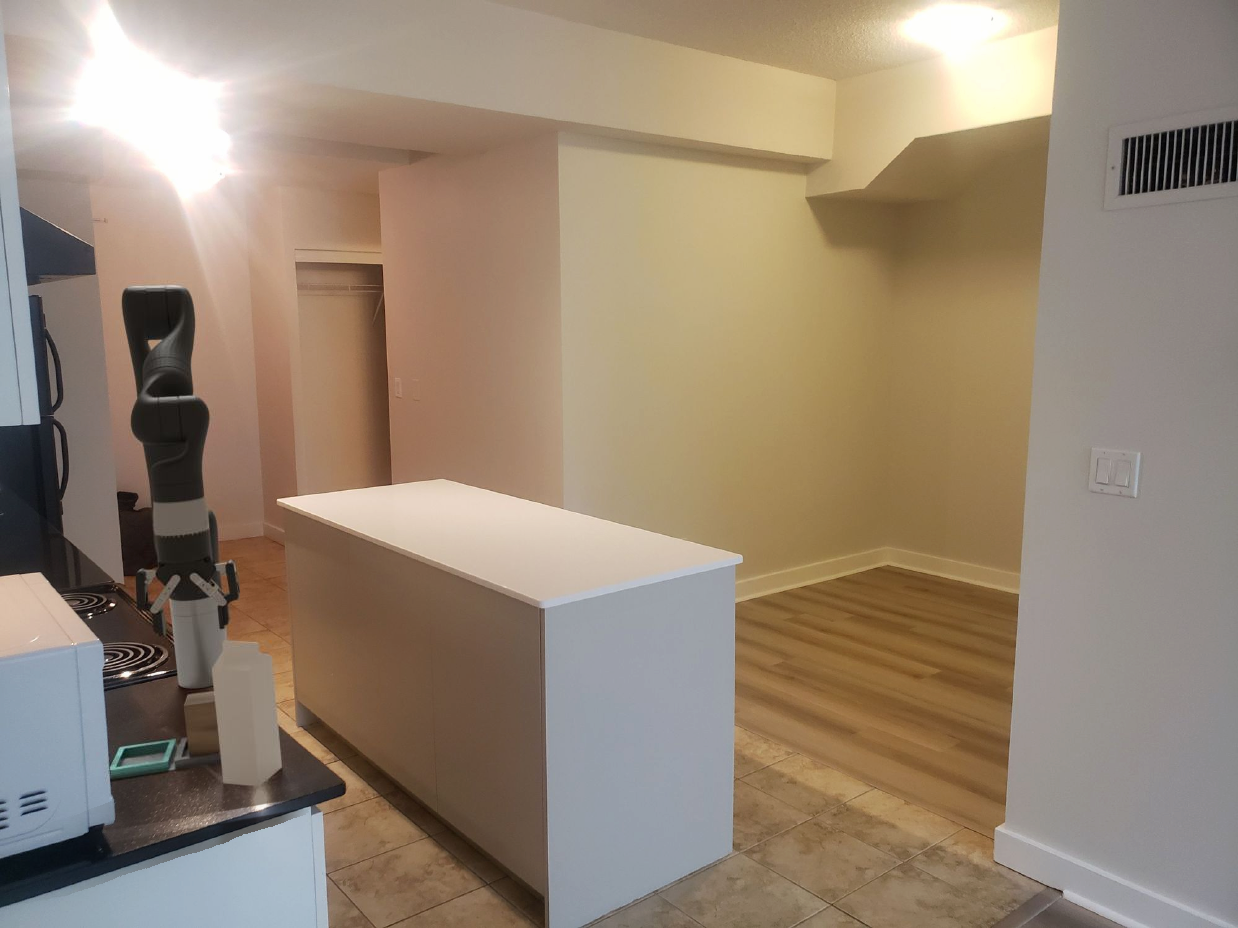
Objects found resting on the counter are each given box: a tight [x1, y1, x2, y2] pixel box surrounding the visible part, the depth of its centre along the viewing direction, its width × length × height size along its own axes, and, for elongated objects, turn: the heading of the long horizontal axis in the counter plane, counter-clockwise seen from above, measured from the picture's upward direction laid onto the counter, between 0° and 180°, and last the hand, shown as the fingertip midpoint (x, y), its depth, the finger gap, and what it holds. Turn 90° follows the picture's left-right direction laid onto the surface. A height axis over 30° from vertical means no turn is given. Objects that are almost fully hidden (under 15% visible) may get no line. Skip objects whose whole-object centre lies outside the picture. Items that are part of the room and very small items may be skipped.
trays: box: [109, 736, 221, 780], centre depth 145 cm, size 9×18×2 cm, turn 107°
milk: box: [212, 640, 283, 787], centre depth 137 cm, size 6×6×22 cm
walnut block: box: [183, 690, 220, 756], centre depth 146 cm, size 4×4×9 cm
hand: (192, 631), depth 143 cm, fingers open, 8 cm apart
